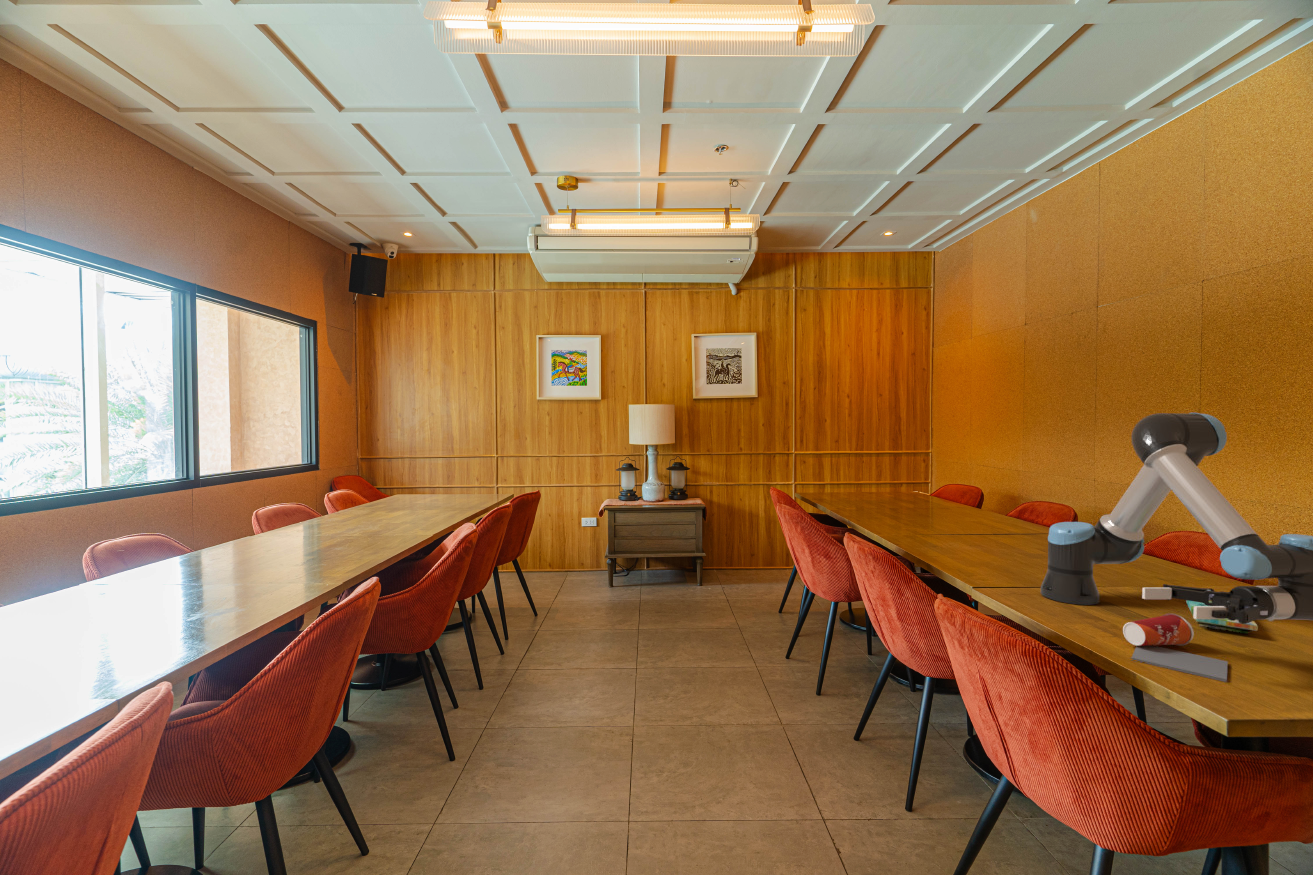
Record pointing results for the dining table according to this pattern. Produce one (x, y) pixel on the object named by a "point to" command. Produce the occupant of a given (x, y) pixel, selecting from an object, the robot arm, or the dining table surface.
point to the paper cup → (1159, 631)
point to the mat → (1182, 662)
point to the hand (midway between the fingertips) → (1167, 602)
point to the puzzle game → (1222, 621)
